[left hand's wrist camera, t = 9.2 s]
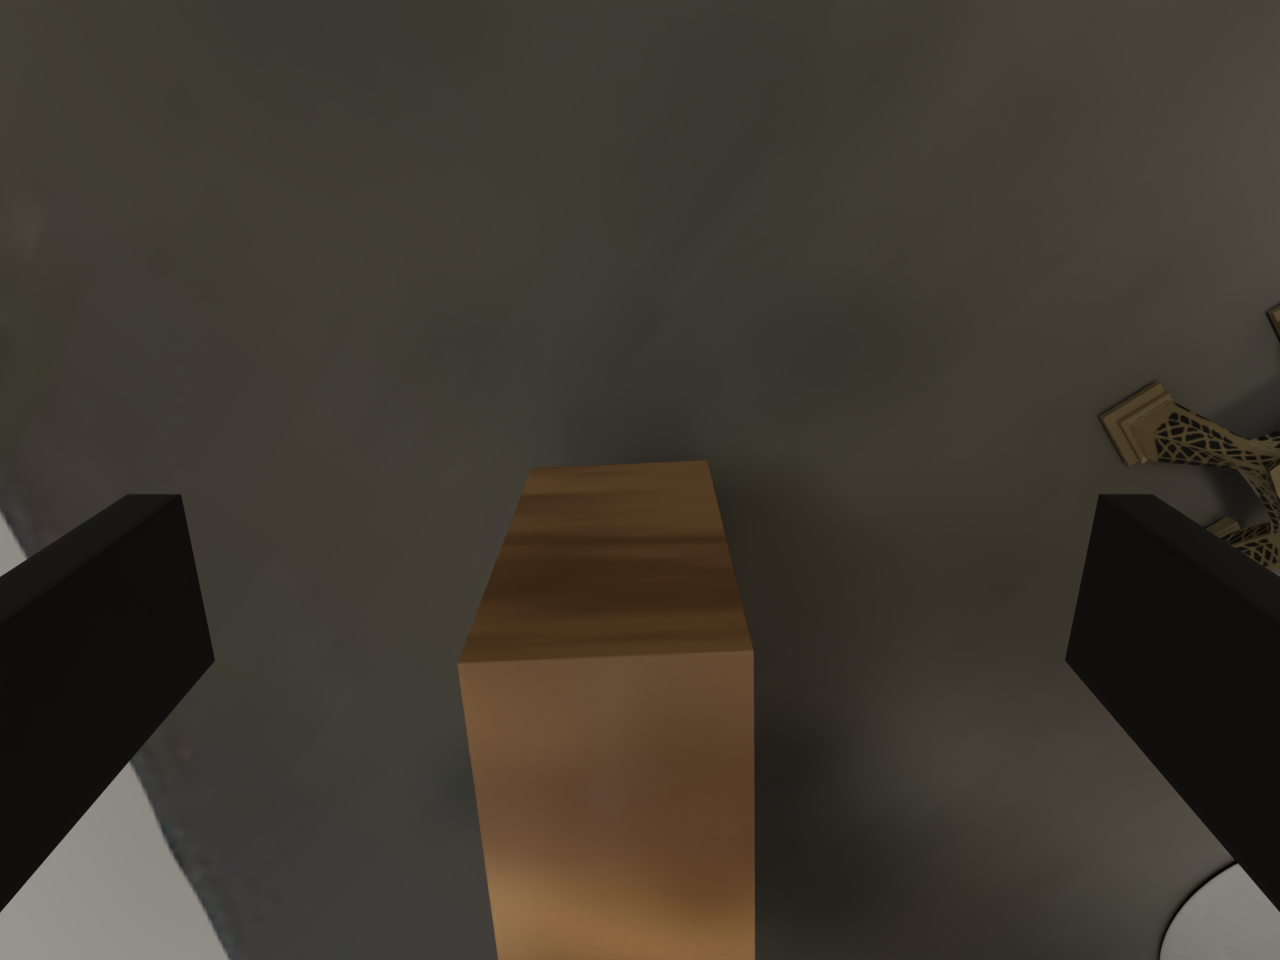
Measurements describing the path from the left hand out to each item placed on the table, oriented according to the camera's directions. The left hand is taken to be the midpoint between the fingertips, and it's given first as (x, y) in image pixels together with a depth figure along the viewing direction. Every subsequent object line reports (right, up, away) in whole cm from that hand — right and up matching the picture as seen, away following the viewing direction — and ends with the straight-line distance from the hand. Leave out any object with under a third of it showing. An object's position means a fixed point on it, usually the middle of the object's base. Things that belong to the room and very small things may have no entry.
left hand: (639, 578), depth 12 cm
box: (0, -8, +21) cm, 22 cm away
